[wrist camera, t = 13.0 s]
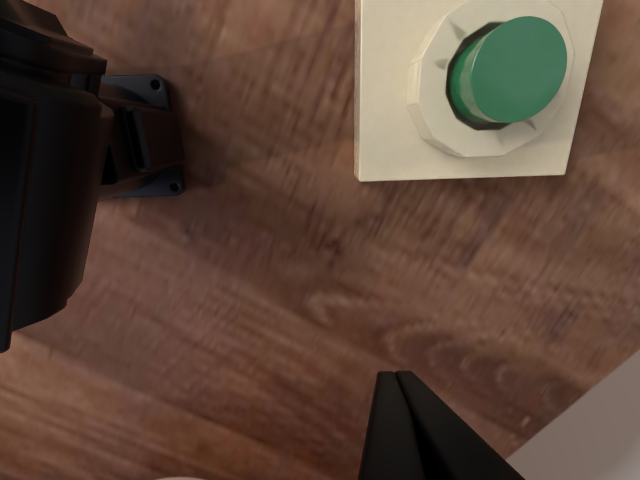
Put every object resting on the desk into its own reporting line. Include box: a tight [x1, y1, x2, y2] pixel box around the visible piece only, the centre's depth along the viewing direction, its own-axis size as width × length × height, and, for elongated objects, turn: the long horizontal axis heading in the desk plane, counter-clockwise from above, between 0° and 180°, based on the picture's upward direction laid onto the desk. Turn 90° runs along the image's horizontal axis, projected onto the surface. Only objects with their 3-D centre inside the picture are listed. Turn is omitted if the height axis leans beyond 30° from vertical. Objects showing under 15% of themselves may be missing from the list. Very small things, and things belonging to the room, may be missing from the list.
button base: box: [354, 0, 604, 182], centre depth 15 cm, size 11×9×4 cm
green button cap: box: [450, 16, 567, 124], centre depth 13 cm, size 4×4×2 cm
